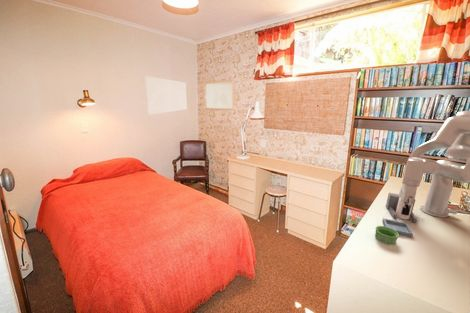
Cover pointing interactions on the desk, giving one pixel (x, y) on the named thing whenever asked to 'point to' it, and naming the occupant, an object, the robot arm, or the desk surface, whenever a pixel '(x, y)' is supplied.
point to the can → (399, 210)
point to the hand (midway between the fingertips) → (403, 211)
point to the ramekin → (386, 235)
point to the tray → (398, 227)
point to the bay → (392, 206)
